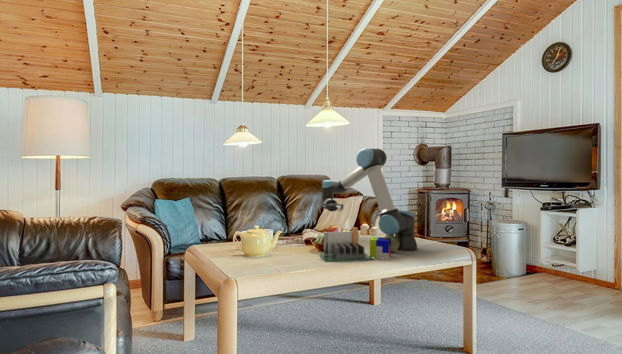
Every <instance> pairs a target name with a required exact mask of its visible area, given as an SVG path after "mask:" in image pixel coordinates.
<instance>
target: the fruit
mask: <svg viewBox="0 0 622 354" xmlns="http://www.w3.org/2000/svg"><path fill="white" fill-rule="evenodd" d="M383 238H391V252H394V251H396V252H397V251H398V250H397V249H398V247H399V245H400V242H399V240H398V239H397V238H396V237H395V234H394V235H388V234H385V236H384V237H383Z"/></svg>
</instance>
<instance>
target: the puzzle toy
mask: <svg viewBox="0 0 622 354" xmlns="http://www.w3.org/2000/svg"><path fill="white" fill-rule="evenodd" d="M369 256H370V257H374V258H373V259H379V258H384V259H383V260H389V259H390V258H389V257H391V256H392V251H391V238H384V237H383V236H382V237H380V236H379V237H378V236H373V237H372V238H370V239H369Z"/></svg>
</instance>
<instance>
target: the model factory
mask: <svg viewBox="0 0 622 354" xmlns="http://www.w3.org/2000/svg"><path fill="white" fill-rule="evenodd" d="M350 230H351V232H352V247H351V246H349V245H348V244H346V248H345V247H344V246H343V245H340V252H339V247H337V246H336V245H333V254H324V253H320V254H319V257H321V259H323V261H324V262H327V263H329V262H332V261H333V262H350V261H351V262H353V261H354V260H359V261H373V260H374V258H372V257H370V254H367V253H366V252H365V248H366V247H365V246H363V245H362V244H361V243H359V244H358V232H359V231H358V230H359V229H358V227H356V226H351V227H350ZM354 262H355V261H354Z"/></svg>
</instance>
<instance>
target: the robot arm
mask: <svg viewBox="0 0 622 354" xmlns="http://www.w3.org/2000/svg"><path fill="white" fill-rule="evenodd" d="M387 159H388V156H387V154H386V152H385V151H384V150H382V149H381V148H370V147H365V148H362V149H360V150H359V151H358V153H357V155H356V164H357V165H358V167H357V168H356V169H354V170H353V171H352V172H350V173H349V174H348V175H346V176H345V177H343V178H342V179H341V180H339V181H338V182H335V181H334V180H333V179H323V180H322V183H321V184H322V186H321V200H320V206H321V207H322V208H323V209H324V210H327V211H328V212H336V211H337V212H342V211H343V210H344V204H343V203H341V204H340V203H339V204H338V202H337V201H336V200H335V199H334V195H335V194H337V195H338V194H345V193H347V192H348V191H349V189H350V188H351V187H352V186H354V185H355V184H357V183H358V182H360V181H361V180H362V179H364V178H365V177H368V179H369V180H368V181H369V183H370V186H371V188H372V192H373V194H374V197H375V200H376V203H377V205H378V209H379V214H378V216H379V218H378V219H379V220H378V222H377V223H378V228H379V230H380V231H381V232H382V233H383V234H385V235H386V234H388V235H394V236H395V237H396V238H397V239H398V240H399V242H400V245H399V247H398V249H397V250H396V251H401V250H413V251H416V250H415V249H417V250H418V244H417V241H416V238H415V225H416V223H415V221H416V220H415V219H416V218H415V217H416V215H415V212H413V211H407V210H406V211H405V210H399V209H398V208H397V207H395V205H394V202H393V200H392V199H393V198H392V196H391V194H390V191H389V188H388V186H387V183H386V180H385V178H384V175H383V171H382V168H383V167H384V166H385V164H386V163H387Z"/></svg>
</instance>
